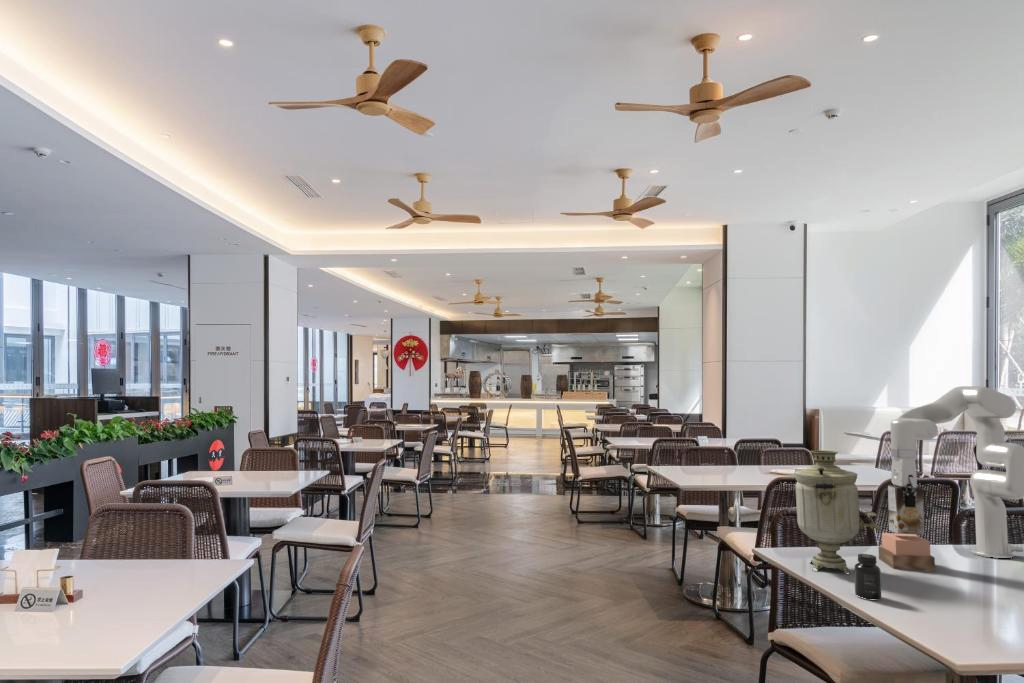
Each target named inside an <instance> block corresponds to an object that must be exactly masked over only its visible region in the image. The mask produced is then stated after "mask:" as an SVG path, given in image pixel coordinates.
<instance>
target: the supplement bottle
mask: <svg viewBox="0 0 1024 683" xmlns="http://www.w3.org/2000/svg"><path fill="white" fill-rule="evenodd" d="M877 563H878V561H877V556H876V555H873V554H869V553H858V554H857V563H855V565H854V567H853V568H854V572H853V573H854V594H855V596H856V595H858V596H860V597H863V598H866V599H880V600H881V599H882V575H881V574H882V572H881V568H880V567H879V565H877ZM866 599H865V600H866Z"/></svg>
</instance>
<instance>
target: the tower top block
mask: <svg viewBox="0 0 1024 683" xmlns="http://www.w3.org/2000/svg"><path fill="white" fill-rule="evenodd" d="M881 544H882V545H881V546H882V547H883V548H885V549H887V550H889V551H890V552H892V553H894V554H896V555H912V556H930V555H931V541H929V540H927V539H926V538H923V537H921V536H920V535H918V534H897V533H895V532H893V533H892V532H891V533H888V532H882V533H881Z"/></svg>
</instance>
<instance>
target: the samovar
mask: <svg viewBox="0 0 1024 683" xmlns="http://www.w3.org/2000/svg"><path fill="white" fill-rule="evenodd" d="M809 453H811V454H812V455H813V461H814V462H815V464H813V465H811V466H809V467H808V468H804V469H799V470H795V471H793V476H794V478H795V480H796V481H797V482H796V483H795V500H796V501H795V502H796V516H797V517H796V521H797V525H798V528H799V529H800V531H801V532H802V533H803V534H805V535H806V536H807V537H808V538H809V539H811V540H813V541H815V542H817V549H820V552H818V553H816V555H814V556H812V559H811V560H810V561H811V562H812V563H811V564H813V565H814V567H813V568H816V569H819V570H820V569H822V568H827V569H829V568H831V569H838V570H840V571H842V572H843V573H844V574H845V573H850V571H848V570H847V567H848V566H847V561H846V560H845V559H844V558H843V557H842V556H841V555H839V554H837V551H840V550H841V544H842V543H843V544H844V543H846V542H849V541H850V540H851V541H852V539H853V538H855V537H856V536H857V535H858V533H859V532H860V530H863V529H864V527H868V528H869V529H870V530H875V529H876V530H877V531H878V532H881V531H883V528H881V526H880V525H878V524H876V523H875V522H874V520H873V517H875V516H877V514H876V513H875V512H873V511H865V512H864V515H866V516H867V517H869V522H863V519H862V518H860V507H859V506H860V504H859V503H860V502H859V488H858V487H857V485H856V482H857V479H858V474H859V473H857V472H853V471H851V470H847V469H842V468H841V467H840V466H837V465H834V463H835V462H836V455H837V454H838V453H839V451H834V450H810V451H809Z"/></svg>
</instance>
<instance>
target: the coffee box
mask: <svg viewBox="0 0 1024 683" xmlns="http://www.w3.org/2000/svg"><path fill="white" fill-rule="evenodd" d="M887 486H888V487H887V491H888V492H887V494H888V495H887V496H888V498H887V499H888V502H887V503H888V504H887V505H888V530H889V531H890V532H893V533H894V534H915V535H918V536H920V535H925V519H924V518H925V514H924V510H925V509H924V488H922V487H919V486H917V488H916V492H915V494H916V495H915V504H916V507H905V495H906V493H905V488H904V487H899V486H897V485H894V484H892V485H891V484H890V485H889V484H888V485H887ZM908 490H909V489H908Z"/></svg>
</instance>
